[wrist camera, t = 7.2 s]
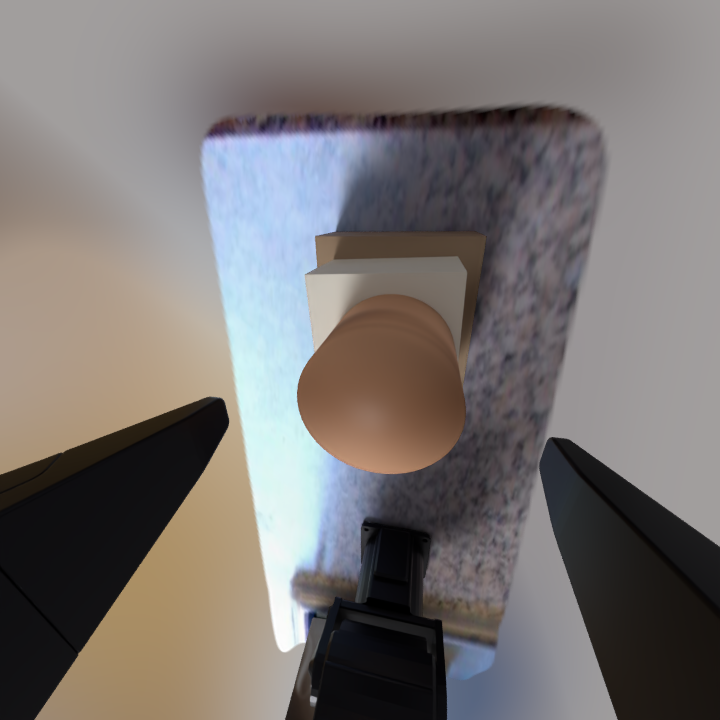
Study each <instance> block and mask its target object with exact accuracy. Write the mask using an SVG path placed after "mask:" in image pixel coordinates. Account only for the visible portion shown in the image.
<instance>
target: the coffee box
mask: <svg viewBox="0 0 720 720" xmlns="http://www.w3.org/2000/svg"><path fill="white" fill-rule="evenodd" d="M325 623H326V619H321V618H314V617H313V619H312V622H311V626H310V630H309V633H308V637H307V641H306V645H305V649H304V652H303V655H302V659H301V663H300V667H299V671H298V674H297V678H296V681H295V686H294V689H293V693H292V696H291V700H290V704H289V707H288V711H287V715H286V718H285V720H313V716H314V711H315V708H314V707H311V705H310V694H311V678H310V675H309V673H308V667H309V663H310V660H311V658H312V655H313V653H314V651H315V649H316V646H317V644H318V642H319V639H320V637H321V635H322V632H323V629H324V626H325Z"/></svg>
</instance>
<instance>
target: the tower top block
mask: <svg viewBox="0 0 720 720" xmlns="http://www.w3.org/2000/svg"><path fill="white" fill-rule="evenodd" d="M466 279H467V271H466V269H465V268H464V266H463V264H462V263H461V261H460V259H459V258H458V256H449V257H411V258H373V259H336V260H332V261H330V262H328V263H326V264H324V265H322V266H320V267H318V268H316V269H314V270H312V271H311V272H309V273H307V274H305V282H306V290H307V297H308V305H309V313H310V321H311V328H312V336H313V344H314V352H316V351H317V349H318V348H319V347H320V346H321V344H322V343H323V342H324V341H325V339H326V338H327V337H328V336H329V334H330V333H331V332H332V330H333V329H334V328H335V327H336V325H337V324H338V323H339V322H340V320H341V319H342V318H343V317H344V315H345V314H346V313H347V312H348V311H349V310H350V309H351V308H352V307H354V306H355V305H356V304H358V303H360V302H361V301H363V300H366V299H368V298H371V297H374V296H378V295H384V294H398V295H405V296H409V297H413V298H415V299H418V300H420V301H422V302H424V303H426V304H428V305H429V306H430V307H432V308H433V309H434V310H436V311H437V312H438V313H439V314H440V315H441V317H442V318H443V319H444V320H445V322H446V323H447V325H448V327H449V328H450V331H451V333H452V336H453V339H454V344H455V349H456V355H457V360H458V359H459V349H460V339H461V329H462V319H463V309H464V299H465V289H466Z"/></svg>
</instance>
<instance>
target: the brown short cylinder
mask: <svg viewBox="0 0 720 720" xmlns="http://www.w3.org/2000/svg"><path fill="white" fill-rule="evenodd" d="M297 402H298V407H299V412H300V415H301V418H302V420H303V422H304V424H305V426H306V428H307V430H308V431H309V433H310V434H311V436H312V437H313V438H314V439H315V441H316V442H317V443H318V444H319V445H320V446H321V447H322V448H323V449H324V450H326V451H327V452H328V453H329V454H331V455H332V456H334V457H335V458H337V459H338V460H340V461H342V462H344V463H346V464H348V465H350V466H353V467H355V468H358V469H362V470H365V471H369V472H374V473H382V474H400V473H407V472H413V471H416V470H420V469H423V468H425V467H427V466H430V465H432V464H433V463H435V462H437V461H438V460H440V459H441V458H442V457H444V456H445V455H446V454H447V453H448V452H449V451H450V450H451V449H452V448H453V447H454V445H455V444H456V442H457V441H458V439H459V437H460V435H461V433H462V431H463V427H464V424H465V417H466V406H465V398H464V393H463V387H462V382H461V376H460V371H459V365H458V360H457V355H456V349H455V344H454V339H453V336H452V333H451V331H450V328H449V327H448V325H447V323H446V322H445V320H444V319H443V318H442V317H441V315H440V314H439V313H438V312H437V311H436V310H434V309H433V308H432V307H430V306H429V305H428V304H426V303H424V302H422V301H420V300H418V299H415V298H413V297H409V296H405V295H398V294H384V295H378V296H374V297H371V298H368V299H366V300H363V301H361V302H360V303H358V304H356V305H355V306H354V307H352V308H351V309H350V310H349V311H348V312H347V313H346V314H345V315H344V317H343V318H342V319H341V320H340V322H339V323H338V324H337V325H336V327H335V328H334V329H333V330H332V332H331V333H330V334H329V336H328V337H327V338H326V339H325V341H324V342H323V343H322V344H321V346H320V347H319V348H318V349H317V351H316V352H315V353H314V355H313V356H312V357H311V358H310V360H309V361H308V363H307V364H306V366H305V367H304V369H303V371H302V373H301V376H300V379H299V383H298V390H297Z"/></svg>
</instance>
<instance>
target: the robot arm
mask: <svg viewBox="0 0 720 720" xmlns="http://www.w3.org/2000/svg"><path fill="white" fill-rule="evenodd" d="M228 426H229V418H228V414H227V409H226V405H225V402H224V400H223V399H222V398H217V397H206V398H204V399H201V400H199V401H196V402H193V403H191V404H188V405H185V406H183V407H180V408H177V409H175V410H172V411H169V412H167V413H164V414H162V415H159V416H156V417H154V418H151V419H148V420H146V421H143V422H140V423H138V424H135V425H133V426H130V427H127V428H125V429H122V430H119V431H117V432H114V433H112V434H109V435H106V436H103V437H101V438H98V439H96V440H93V441H90V442H88V443H85V444H83V445H80V446H77V447H75V448H72V449H69V450H67V451H65V452H64V453H58V454H56V455H53V456H50V457H48V458H45V459H43V460H40V461H37V462H34V463H32V464H29V465H26V466H23V467H21V468H18V469H15V470H13V471H10V472H7V473H4V474H1V475H0V720H34V719H35V718H36V717H37V715H38V713H39V712H40V711H41V709H42V708H43V706H44V705H45V703H46V702H47V700H48V699H49V698H50V696H51V695H52V693H53V692H54V690H55V689H56V687H57V686H58V684H59V683H60V681H61V680H62V678H63V677H64V676H65V674H66V673H67V671H68V670H69V668H70V667H71V665H72V664H73V662H74V661H75V659H76V658H77V656H78V653H79V652H80V651H81V650H82V649H83V647H84V646H85V644H86V643H87V642H88V640H89V639H90V637H91V636H92V634H93V633H94V631H95V630H96V628H97V627H98V625H99V624H100V622H101V621H102V620H103V618H104V617H105V615H106V614H107V612H108V611H109V609H110V608H111V606H112V605H113V603H114V602H115V600H116V599H117V597H118V596H119V594H120V593H121V592H122V590H123V589H124V587H125V586H126V584H127V583H128V582H129V580H130V578H131V577H132V576H133V574H134V573H135V571H136V570H137V568H138V567H139V565H140V564H141V563H142V561H143V559H144V558H145V557H146V555H147V554H148V552H149V551H150V549H151V548H152V546H153V545H154V544H155V542H156V541H157V539H158V537H159V536H160V535H161V533H162V532H163V530H164V529H165V527H166V526H167V524H168V523H169V522H170V520H171V519H172V517H173V516H174V514H175V513H176V511H177V510H178V508H179V507H180V505H181V504H182V503H183V501H184V500H185V498H186V497H187V495H188V494H189V492H190V491H191V489H192V488H193V486H194V485H195V484H196V482H197V481H198V479H199V478H200V476H201V475H202V473H203V472H204V470H205V468H206V466H207V465H208V463H209V461H210V459H211V457H212V456H213V454H214V452H215V450H216V448H217V447H218V445H219V443H220V441H221V439H222V438H223V436H224V434H225V432H226V430H227V428H228ZM539 469H540V474H541V479H542V483H543V488H544V493H545V497H546V501H547V506H548V510H549V515H550V520H551V523H552V527H553V531H554V535H555V538H556V541H557V544H558V547H559V550H560V552H561V556H562V559H563V561H564V564H565V567H566V570H567V573H568V576H569V579H570V582H571V585H572V588H573V591H574V594H575V596H576V599H577V602H578V605H579V608H580V611H581V614H582V617H583V620H584V623H585V626H586V629H587V632H588V634H589V637H590V640H591V643H592V646H593V649H594V652H595V655H596V658H597V661H598V663H599V667H600V669H601V672H602V675H603V678H604V681H605V684H606V687H607V690H608V692H609V696H610V699H611V702H612V704H613V707H614V710H615V713H616V716H617V719H618V720H720V547H719V546H718V545H717V544H715V543H714V542H712V541H711V540H710V539H708V538H707V537H705V536H704V535H703V534H701V533H700V532H698V531H697V530H695V529H694V528H693V527H691V526H690V525H688V524H687V523H686V522H684V521H683V520H681V519H680V518H679V517H677V516H676V515H674V514H673V513H672V512H670V511H669V510H667V509H666V508H665V507H663V506H662V505H660V504H659V503H658V502H656V501H655V500H653V499H652V498H650V497H649V496H648V495H646V494H645V493H644V492H642V491H641V490H639V489H638V488H637V487H635V486H634V485H632V484H631V483H630V482H628V481H627V480H625V479H624V478H623V477H621V476H620V475H618V474H617V473H616V472H614V471H613V470H611V469H610V468H609V467H607V466H606V465H604V464H603V463H602V462H600V461H599V460H597V459H596V458H594V457H593V456H592V455H590V454H589V453H587V452H586V451H585V450H583V449H582V448H580V447H579V446H578V445H576V444H575V443H573V442H572V441H571V440H569V439H564V438H555V437H551V438H549V439H548V440H547V443H546V445H545V448H544V451H543V454H542V457H541V460H540V464H539ZM430 542H431V538H430V535H429V534H427V533H422V532H416V531H411V530H405V529H400V528H395V527H389V526H384V525H378V524H373V523H367V522H364V523H362V527H361V564H362V566H361V571H360V576H359V582H358V587H357V592H356V598H355V602H352V601H348V600H343V599H342V598H340V597H335V601H334V604H333V606H331V607H329V611H328V615H327V619H326V623H325V626H324V629H323V632H322V635H321V637H320V639H319V642H318V644H317V646H316V649H315V651H314V653H313V655H312V658H311V660H310V663H309V667H308V673H309V675H310V678H311V694H310V705H311V707H314V708H315V711H314V716H313V720H447V691H446V673H445V659H444V645H443V631H442V620H439V619H435V620H433V619H428V618H424V617H423V578H425V575H426V568H427V562H428V555H429V549H430Z"/></svg>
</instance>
